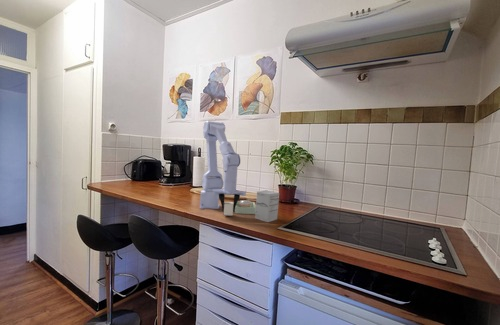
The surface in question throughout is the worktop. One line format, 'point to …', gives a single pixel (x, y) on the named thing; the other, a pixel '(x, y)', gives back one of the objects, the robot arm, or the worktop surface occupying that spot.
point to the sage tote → (245, 209)
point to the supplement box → (267, 205)
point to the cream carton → (228, 208)
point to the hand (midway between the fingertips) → (228, 210)
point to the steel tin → (245, 203)
